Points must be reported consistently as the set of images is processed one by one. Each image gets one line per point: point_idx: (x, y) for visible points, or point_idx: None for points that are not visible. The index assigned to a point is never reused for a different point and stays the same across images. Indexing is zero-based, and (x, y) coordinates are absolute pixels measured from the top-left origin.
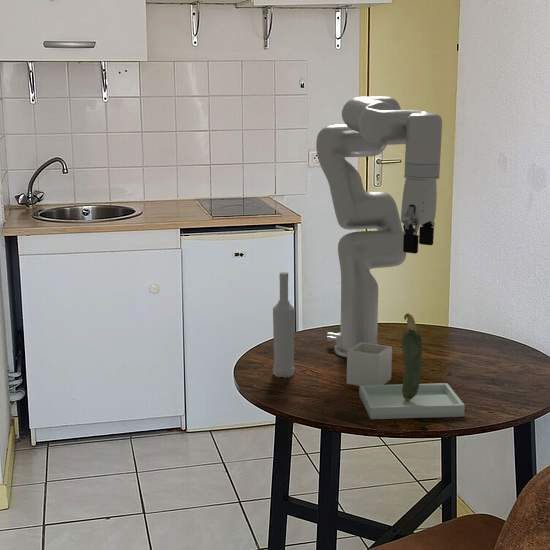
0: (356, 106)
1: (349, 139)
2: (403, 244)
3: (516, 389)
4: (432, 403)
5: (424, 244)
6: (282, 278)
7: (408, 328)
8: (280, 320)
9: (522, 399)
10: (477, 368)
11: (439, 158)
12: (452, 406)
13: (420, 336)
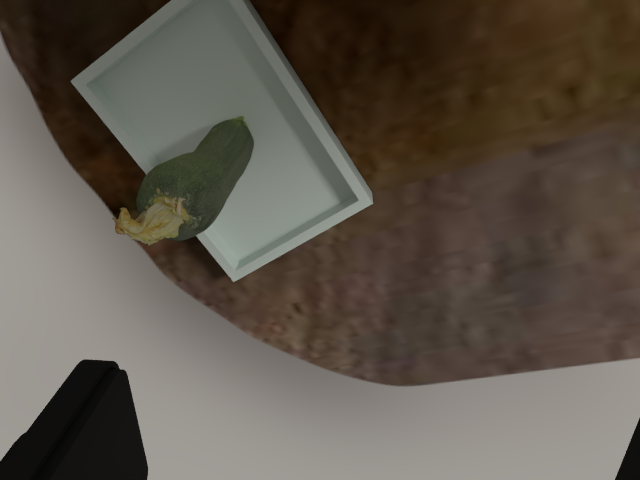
0: None
1: None
2: (31, 426)
3: (477, 325)
4: (255, 192)
5: (637, 443)
6: None
7: (147, 209)
8: None
9: (411, 347)
10: (629, 206)
11: None
12: (216, 258)
13: (180, 240)
